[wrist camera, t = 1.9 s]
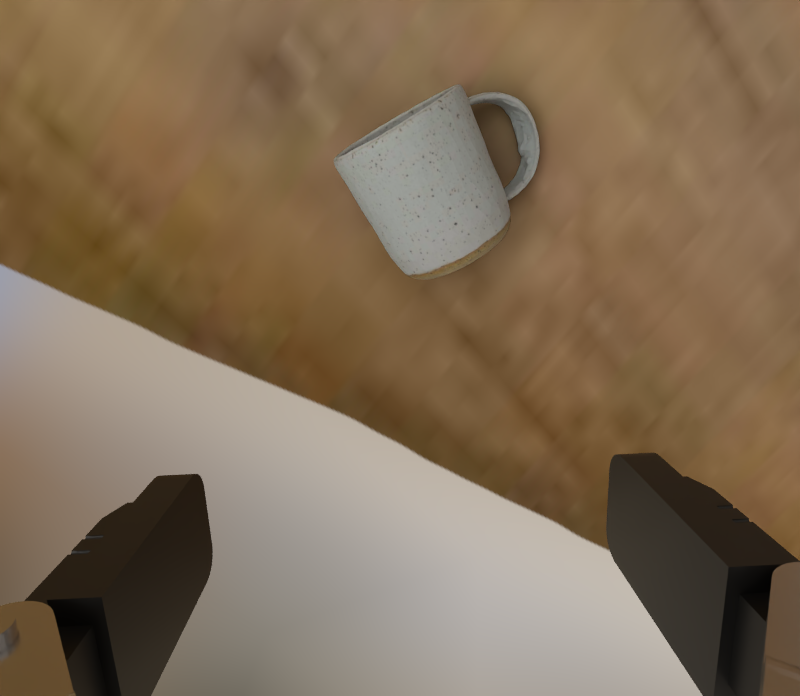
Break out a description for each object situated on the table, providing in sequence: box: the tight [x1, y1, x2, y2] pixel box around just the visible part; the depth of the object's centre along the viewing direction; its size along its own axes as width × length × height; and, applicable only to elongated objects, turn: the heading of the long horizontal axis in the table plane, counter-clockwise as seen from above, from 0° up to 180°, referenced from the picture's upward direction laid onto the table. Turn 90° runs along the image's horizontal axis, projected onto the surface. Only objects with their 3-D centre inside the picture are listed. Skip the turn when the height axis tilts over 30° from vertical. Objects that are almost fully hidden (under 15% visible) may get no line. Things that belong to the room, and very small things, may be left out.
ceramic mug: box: [334, 84, 540, 280], centre depth 29 cm, size 11×8×8 cm
